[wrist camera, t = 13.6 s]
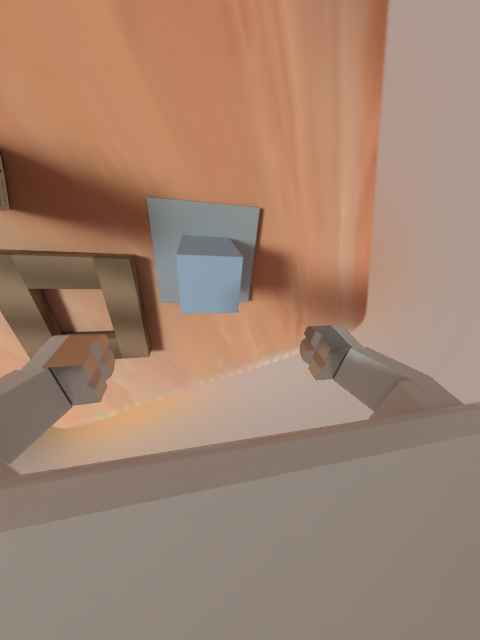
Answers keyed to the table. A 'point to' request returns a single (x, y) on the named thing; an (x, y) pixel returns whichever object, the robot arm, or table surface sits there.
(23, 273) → the walnut stand
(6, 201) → the skincare box
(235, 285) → the blue block
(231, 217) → the ceramic pad
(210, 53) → the table surface
